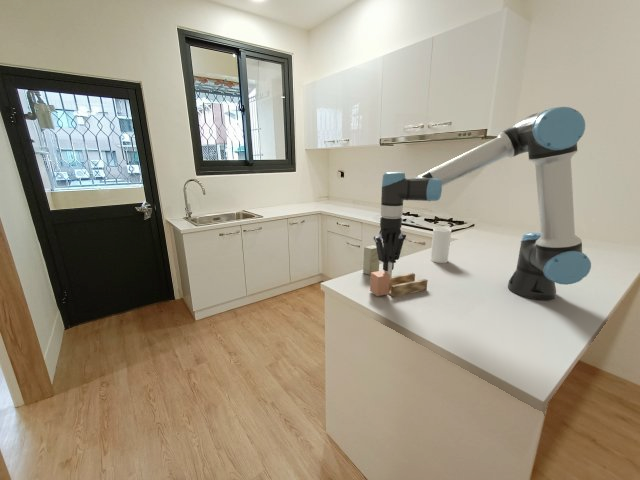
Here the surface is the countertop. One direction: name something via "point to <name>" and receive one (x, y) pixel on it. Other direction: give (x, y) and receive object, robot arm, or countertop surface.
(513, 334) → the countertop surface
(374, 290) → the block
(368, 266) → the skincare box
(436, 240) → the cup
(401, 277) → the chute
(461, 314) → the countertop surface
